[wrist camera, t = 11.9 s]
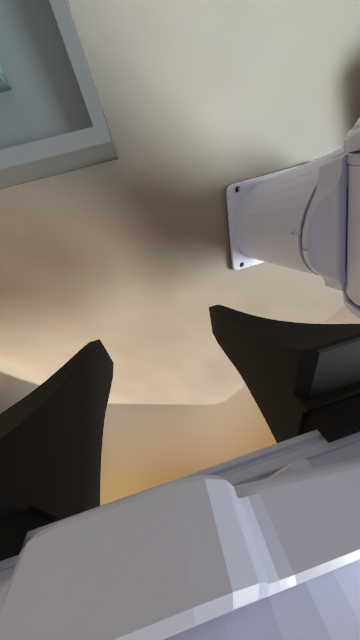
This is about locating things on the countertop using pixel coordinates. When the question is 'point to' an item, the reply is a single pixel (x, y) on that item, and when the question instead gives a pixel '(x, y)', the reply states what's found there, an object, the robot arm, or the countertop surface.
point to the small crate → (3, 82)
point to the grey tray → (46, 95)
